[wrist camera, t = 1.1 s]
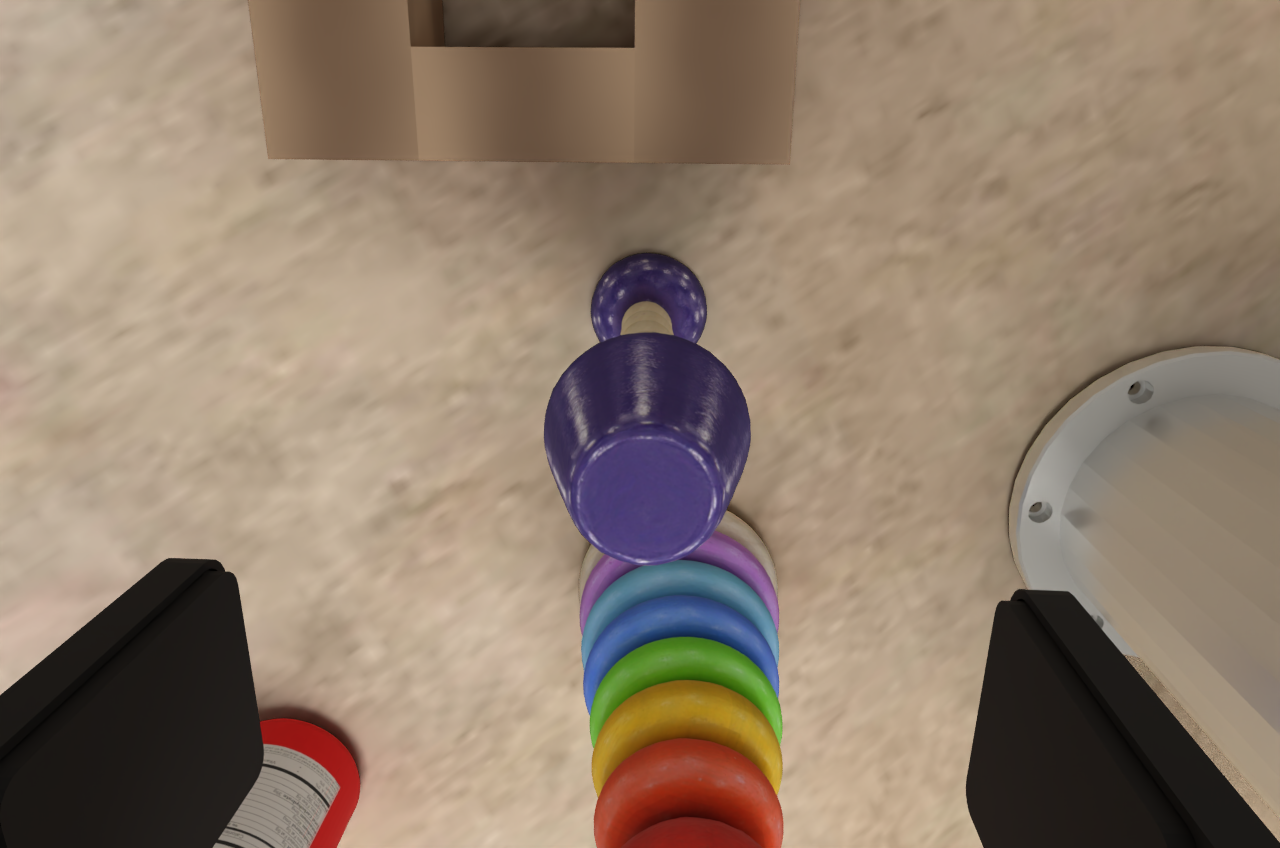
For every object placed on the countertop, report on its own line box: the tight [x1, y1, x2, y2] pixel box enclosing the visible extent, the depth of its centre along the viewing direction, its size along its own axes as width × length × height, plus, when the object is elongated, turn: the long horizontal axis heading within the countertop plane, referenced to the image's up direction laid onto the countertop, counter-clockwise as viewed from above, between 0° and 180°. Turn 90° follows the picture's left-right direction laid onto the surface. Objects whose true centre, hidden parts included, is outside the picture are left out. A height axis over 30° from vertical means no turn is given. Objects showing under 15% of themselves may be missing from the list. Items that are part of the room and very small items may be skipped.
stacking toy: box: [579, 510, 783, 848], centre depth 26 cm, size 8×8×19 cm
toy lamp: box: [544, 253, 751, 566], centre depth 24 cm, size 5×5×17 cm
